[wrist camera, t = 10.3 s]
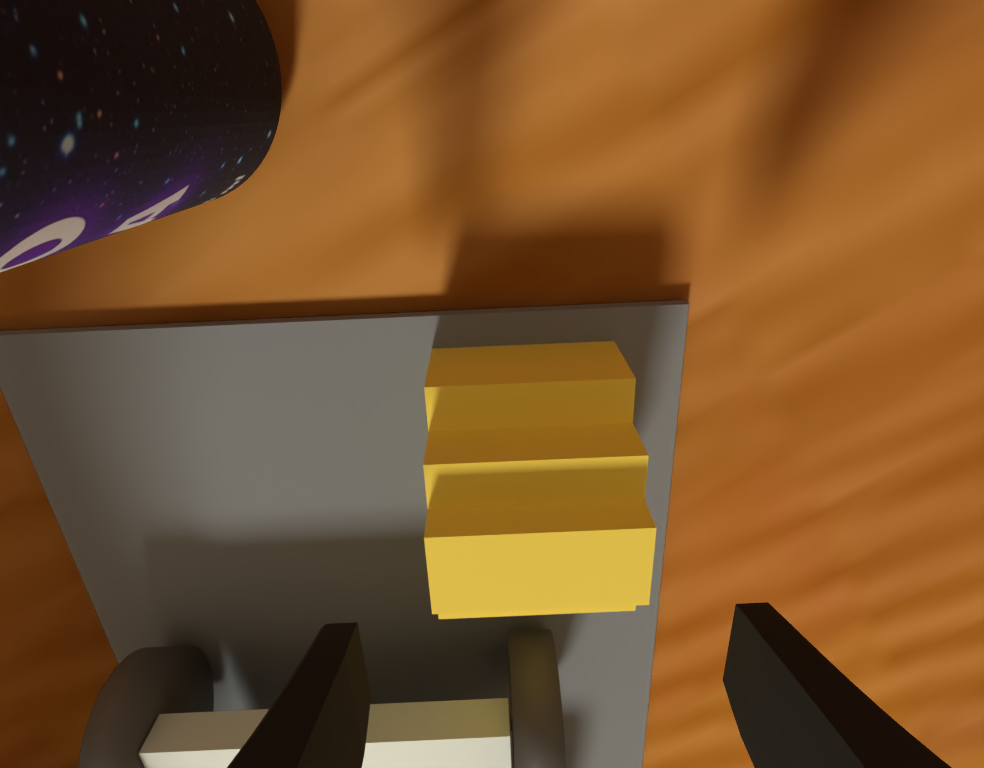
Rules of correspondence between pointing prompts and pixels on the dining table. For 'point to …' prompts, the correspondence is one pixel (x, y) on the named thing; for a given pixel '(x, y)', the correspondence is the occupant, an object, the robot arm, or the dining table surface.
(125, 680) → the trolley
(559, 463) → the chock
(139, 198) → the beverage can
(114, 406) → the mat
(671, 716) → the dining table surface
